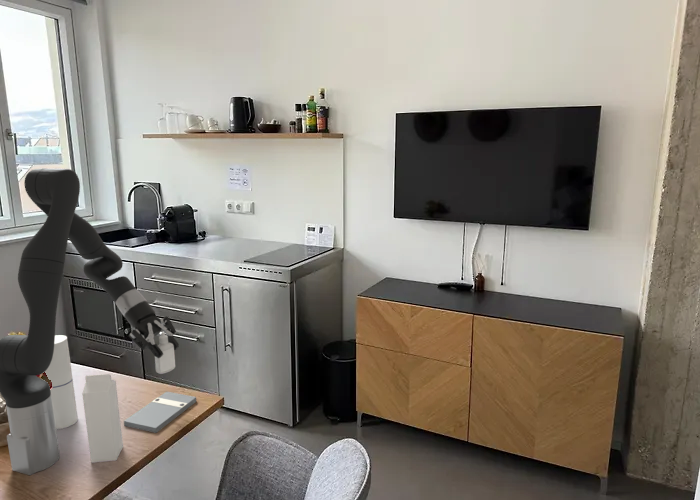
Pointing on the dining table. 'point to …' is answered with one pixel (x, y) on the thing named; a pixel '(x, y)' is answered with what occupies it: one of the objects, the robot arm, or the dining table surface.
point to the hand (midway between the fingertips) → (168, 352)
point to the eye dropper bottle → (165, 355)
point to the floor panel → (160, 412)
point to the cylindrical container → (62, 385)
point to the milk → (102, 418)
